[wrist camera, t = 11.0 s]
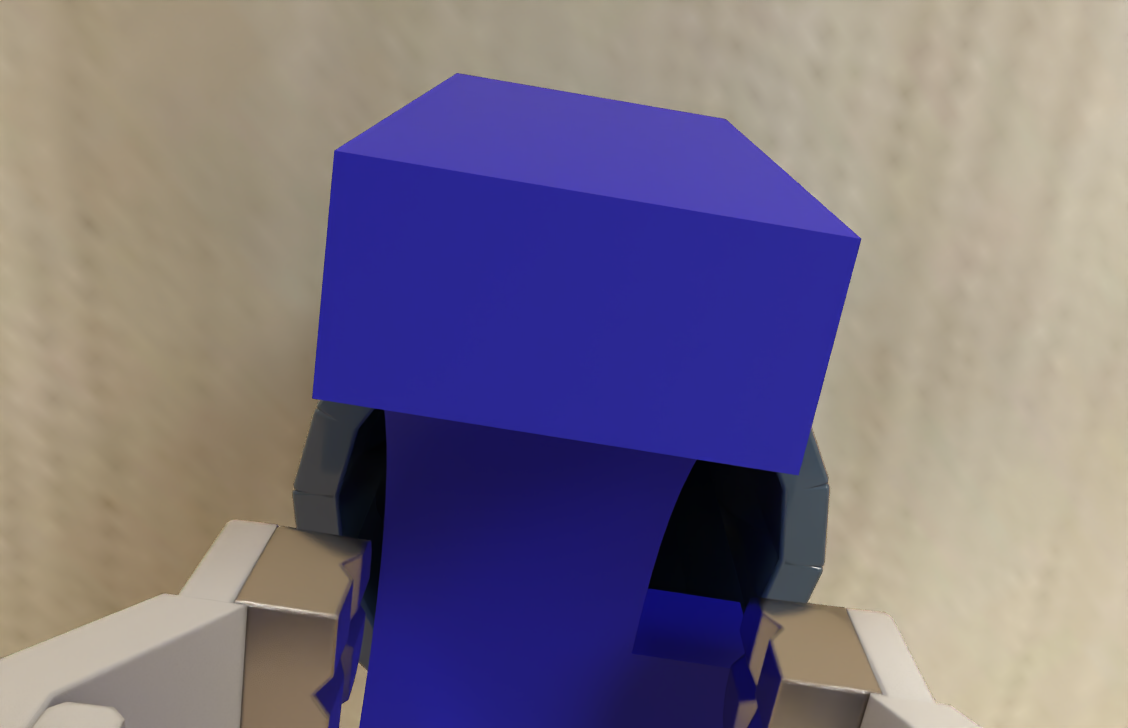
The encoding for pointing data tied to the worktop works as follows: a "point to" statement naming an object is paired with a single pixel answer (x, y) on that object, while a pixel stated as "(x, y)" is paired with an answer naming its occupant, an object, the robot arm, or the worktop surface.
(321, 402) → the tumbler
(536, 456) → the blue half clamp bracket
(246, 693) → the robot arm
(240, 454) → the worktop surface
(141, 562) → the worktop surface
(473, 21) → the worktop surface
